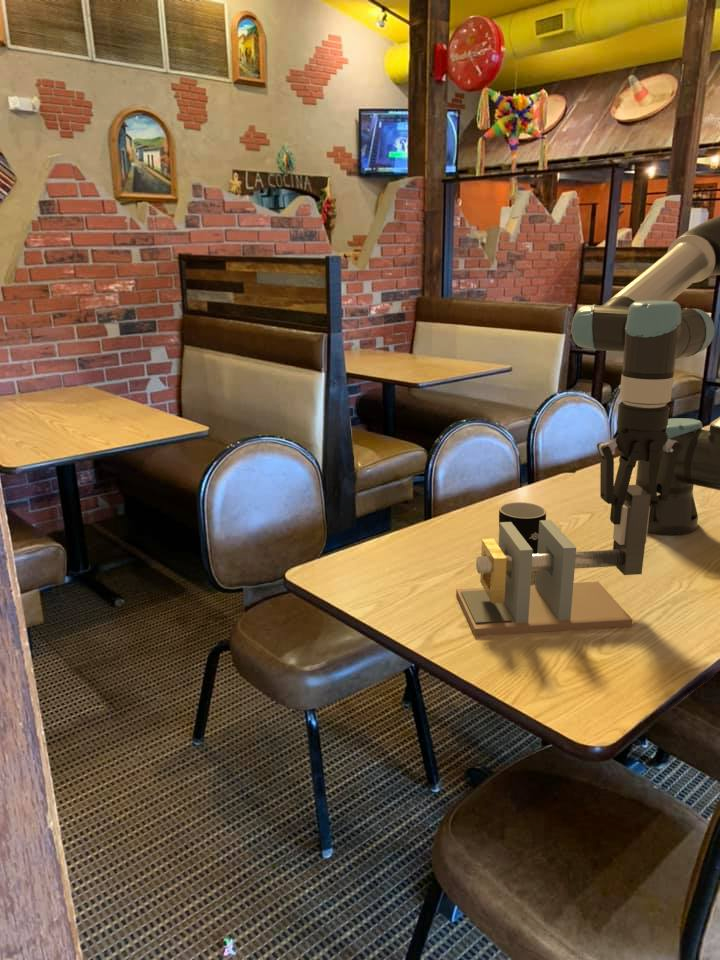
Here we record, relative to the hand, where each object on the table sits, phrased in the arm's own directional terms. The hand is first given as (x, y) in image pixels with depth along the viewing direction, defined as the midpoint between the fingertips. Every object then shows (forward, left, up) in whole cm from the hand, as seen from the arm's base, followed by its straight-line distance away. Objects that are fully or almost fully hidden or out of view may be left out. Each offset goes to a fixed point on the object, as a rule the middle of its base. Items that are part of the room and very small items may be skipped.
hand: (629, 540), depth 120 cm
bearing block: (+15, 0, -12) cm, 19 cm away
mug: (+10, -23, -12) cm, 28 cm away
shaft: (+12, 0, -5) cm, 13 cm away
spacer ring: (+23, 0, -4) cm, 23 cm away
